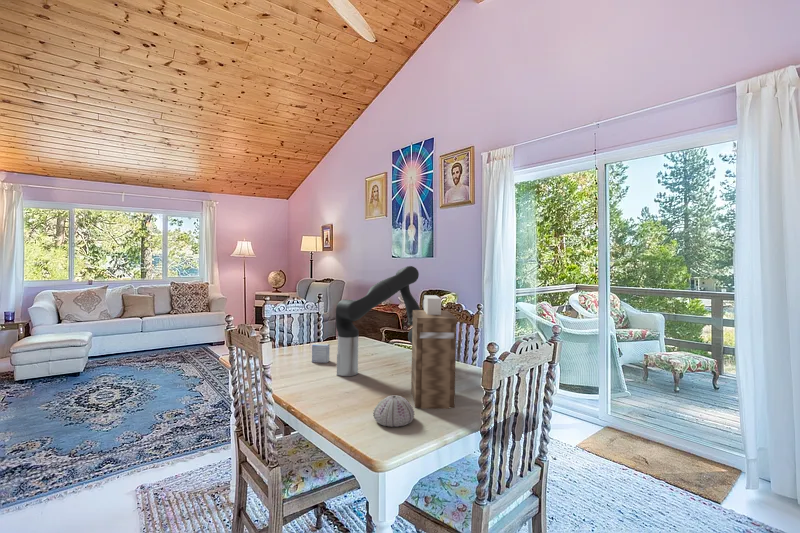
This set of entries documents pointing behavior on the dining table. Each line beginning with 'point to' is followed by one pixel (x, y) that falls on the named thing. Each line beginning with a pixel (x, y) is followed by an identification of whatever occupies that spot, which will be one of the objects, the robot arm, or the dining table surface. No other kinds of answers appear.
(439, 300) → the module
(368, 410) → the dining table surface
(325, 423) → the dining table surface
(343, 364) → the robot arm
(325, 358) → the medicine box
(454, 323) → the shelf unit
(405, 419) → the sea urchin shell
